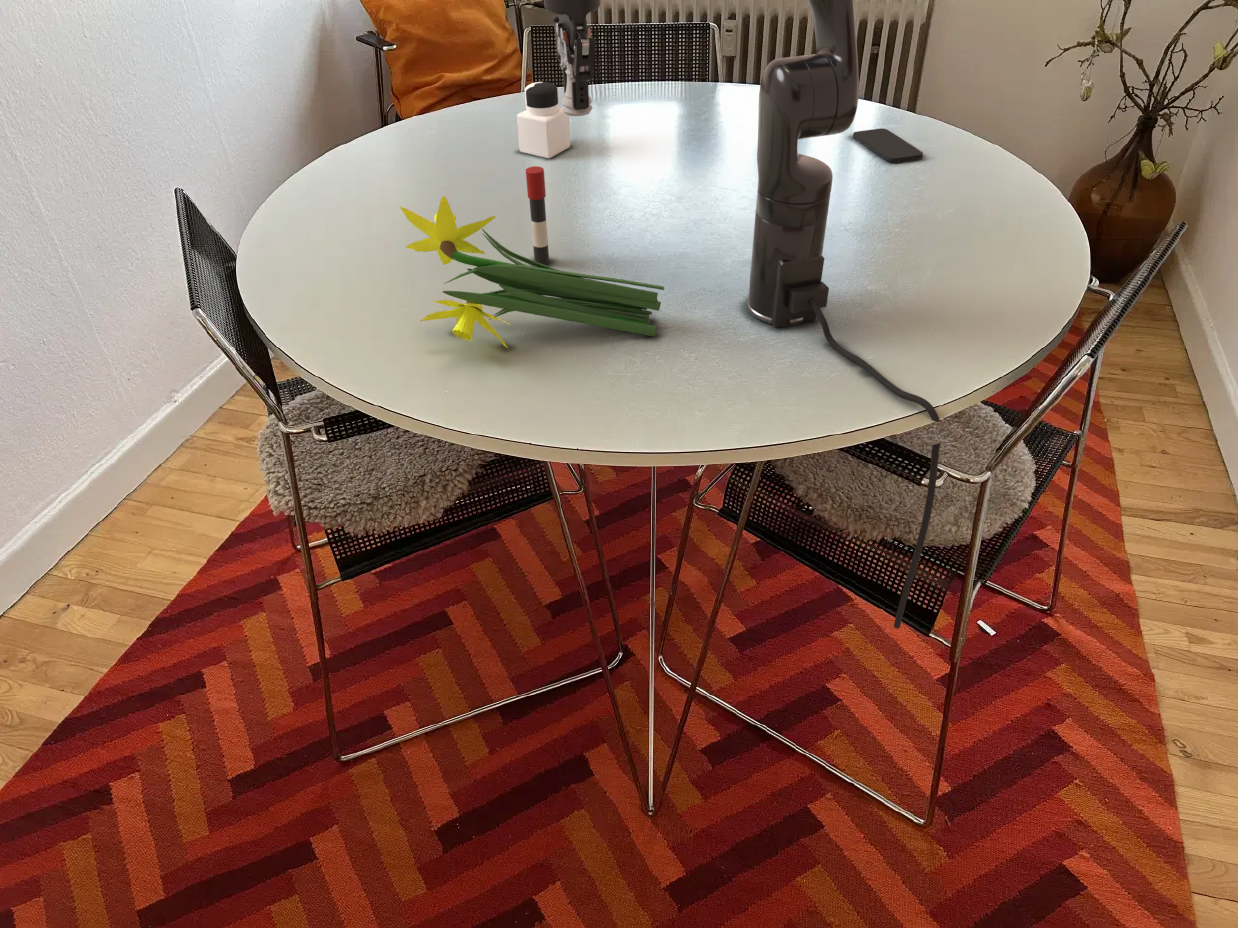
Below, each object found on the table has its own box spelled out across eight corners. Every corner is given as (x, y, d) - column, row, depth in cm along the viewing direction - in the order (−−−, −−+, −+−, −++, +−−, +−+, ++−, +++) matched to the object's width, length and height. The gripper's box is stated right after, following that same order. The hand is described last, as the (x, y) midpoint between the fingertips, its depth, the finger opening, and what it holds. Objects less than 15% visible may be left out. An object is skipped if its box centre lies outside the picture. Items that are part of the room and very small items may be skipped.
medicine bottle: (571, 147, 176) (567, 82, 168) (549, 159, 171) (545, 93, 164) (541, 140, 179) (536, 76, 171) (519, 152, 174) (513, 87, 167)
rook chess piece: (599, 111, 131) (597, 52, 126) (576, 119, 129) (573, 60, 123) (577, 104, 133) (575, 46, 128) (555, 112, 131) (551, 53, 126)
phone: (885, 127, 178) (926, 154, 167) (884, 132, 179) (925, 158, 168) (850, 132, 177) (889, 159, 166) (850, 136, 177) (889, 163, 166)
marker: (552, 264, 138) (545, 171, 129) (535, 267, 138) (527, 174, 129) (548, 257, 140) (541, 165, 131) (531, 260, 140) (523, 167, 131)
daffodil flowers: (658, 375, 117) (378, 325, 109) (634, 371, 131) (385, 327, 123) (682, 242, 115) (399, 182, 107) (655, 253, 129) (404, 201, 122)
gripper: (613, -21, 115) (615, 117, 126) (584, -44, 125) (589, 84, 136) (555, -16, 113) (562, 123, 124) (531, -40, 124) (539, 90, 135)
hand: (576, 102), depth 130 cm, fingers closed on rook chess piece, 4 cm apart
